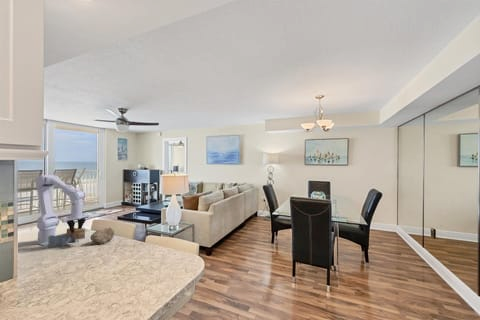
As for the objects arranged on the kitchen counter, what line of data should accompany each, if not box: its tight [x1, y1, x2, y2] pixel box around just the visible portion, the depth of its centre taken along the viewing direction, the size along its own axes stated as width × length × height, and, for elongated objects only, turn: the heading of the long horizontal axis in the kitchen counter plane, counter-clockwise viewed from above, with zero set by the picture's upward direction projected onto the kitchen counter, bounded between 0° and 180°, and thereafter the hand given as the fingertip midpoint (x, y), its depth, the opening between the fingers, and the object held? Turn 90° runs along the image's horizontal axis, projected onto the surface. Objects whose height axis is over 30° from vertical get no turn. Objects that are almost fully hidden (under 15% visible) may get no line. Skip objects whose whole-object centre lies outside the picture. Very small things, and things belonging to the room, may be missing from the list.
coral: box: [90, 227, 115, 245], centre depth 139 cm, size 14×9×10 cm, turn 154°
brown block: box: [66, 227, 85, 240], centre depth 133 cm, size 13×4×5 cm, turn 65°
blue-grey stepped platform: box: [47, 227, 86, 249], centre depth 136 cm, size 5×20×7 cm, turn 155°
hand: (75, 231), depth 133 cm, fingers closed on brown block, 3 cm apart
